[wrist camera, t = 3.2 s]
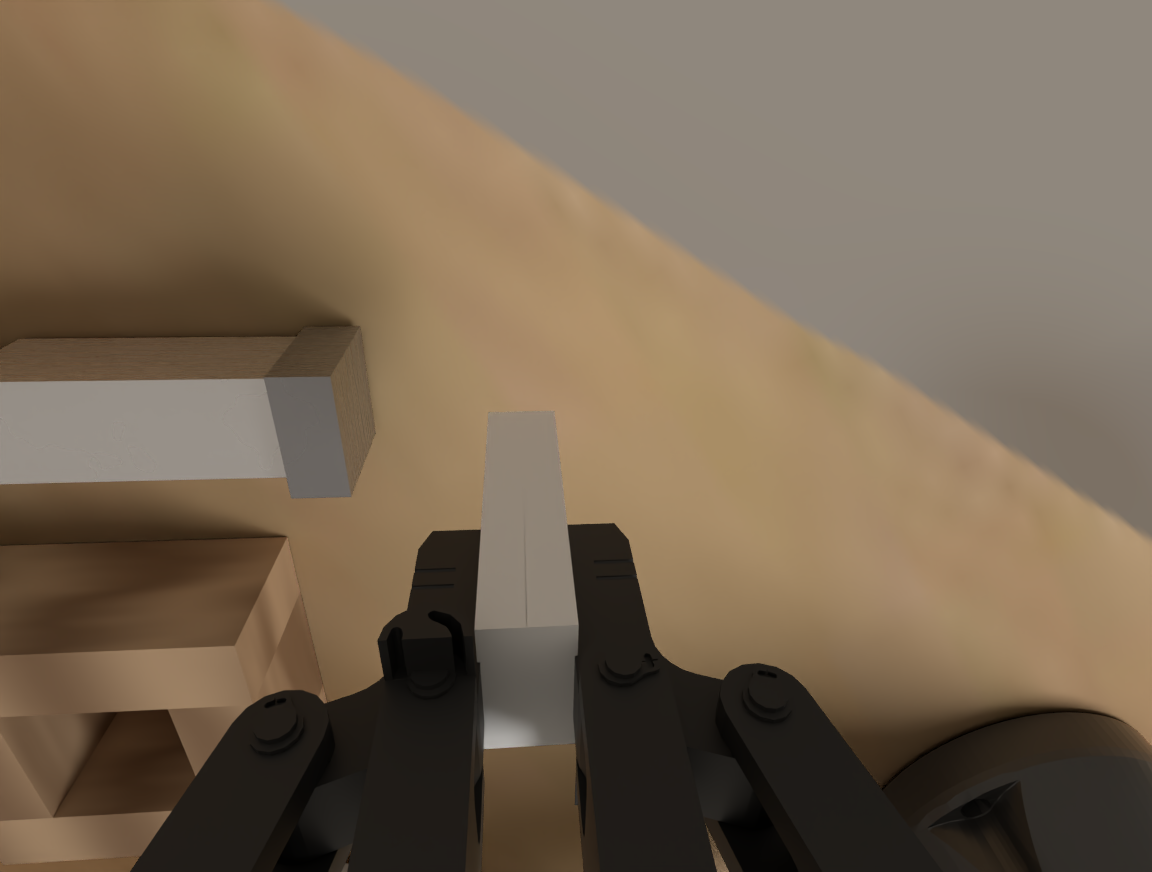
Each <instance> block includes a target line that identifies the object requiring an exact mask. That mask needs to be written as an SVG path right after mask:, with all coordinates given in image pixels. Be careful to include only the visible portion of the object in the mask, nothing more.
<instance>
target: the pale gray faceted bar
mask: <svg viewBox="0 0 1152 872" xmlns="http://www.w3.org/2000/svg"><path fill="white" fill-rule="evenodd" d="M375 434H376V432H375V425H374V418H373V411H372V405H371V398H370V391H369V384H368V377H367V370H366V363H365V356H364V350H363V343H362V336H361V329H360V326H334V327H304V328H303V329H302V330H301V331H300V333H299V334H298V335H297V336H294V337H175V338H57V339H18V340H16V341H14V342H12V343H11V344H9V345H7V346H5V347H3V348H2V349H0V484H30V483H72V482H114V481H156V480H198V479H240V478H282V477H286V478H287V482H288V486H289V491H290V495H291V498H326V497H351V496H352V494H353V491H354V488H355V486H356V483H357V481H358V478H359V475H360V473H361V470H362V468H363V465H364V462H365V460H366V457H367V454H368V452H369V449H370V447H371V444H372V441H373V439H374V436H375Z"/></svg>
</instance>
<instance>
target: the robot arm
mask: <svg viewBox="0 0 1152 872" xmlns="http://www.w3.org/2000/svg"><path fill="white" fill-rule="evenodd" d="M378 647H379V652H380V658H381V663H382V669H383V674H384V677H382V678H381V679H380V680H379V681H378V682H376V683H375V684H373V685H372V686H370V687H369V688H367V689H365V690H362V691H360V692H357V693H355V694H353V695H350V696H347V697H343V698H340V699H337V700H334V701H331V702H328V703H325V704H324V703H323V701H322V700H321V699H320V698H319V697H318V696H317V695H315V694H312V693H309V692H307V691H304V690H283V691H280V692H277V693H274V694H271V695H267V696H264V697H263V698H261V699H260V700H258V701H256V702H255V703H253V704H252V705H250V706H248V707H247V708H246V709H245V710H244V711H243V712H242V713H241V714H240V715H239V716H238V717H237V718H236V720H235V721H234V722H233V723H232V724H231V726H230V727H229V729H228V730H227V731H226V733H225V734H224V736H223V737H222V739H221V740H220V742H219V743H218V745H217V746H216V747H215V749H214V750H213V752H212V753H211V755H210V756H209V758H208V759H207V761H206V762H205V763H204V765H203V766H202V768H201V769H200V771H199V772H198V774H197V775H196V777H195V778H194V779H193V781H192V782H191V784H190V785H189V787H188V788H187V790H186V791H185V793H184V794H183V795H182V797H181V798H180V800H179V801H178V803H177V804H176V806H175V807H174V808H173V810H172V811H171V813H170V814H169V816H168V817H167V819H166V820H165V822H164V823H163V824H162V826H161V827H160V829H159V830H158V832H157V833H156V835H155V836H154V838H153V839H152V840H151V842H150V843H149V845H148V846H147V848H146V849H145V851H144V852H143V854H142V855H141V856H140V858H139V859H138V861H137V862H136V864H135V865H134V867H133V868H132V870H131V871H130V872H342V870H343V867H344V865H345V863H346V860H347V858H348V856H349V853H350V851H351V854H350V859H349V865H348V870H347V872H481V870H482V841H483V812H484V771H483V750H484V749H495V748H511V747H527V746H544V745H560V744H575V745H576V785H575V805H578V809H579V821H580V833H581V845H582V857H583V869H584V872H717V870H716V866H715V862H714V858H713V854H712V850H711V846H710V842H709V838H708V833H707V829H706V825H707V827H708V829H709V831H710V833H711V835H712V837H713V839H714V841H715V844H716V846H717V848H718V850H719V852H720V854H721V856H722V858H723V860H724V862H725V864H726V866H727V868H728V870H729V872H1152V746H1151V745H1150V744H1149V743H1148V742H1147V741H1146V739H1145V738H1144V737H1143V736H1142V735H1141V734H1140V733H1139V732H1138V731H1136V730H1135V729H1134V728H1132V727H1131V726H1129V725H1127V724H1125V723H1123V722H1121V721H1118V720H1116V719H1113V718H1110V717H1106V716H1101V715H1096V714H1089V713H1073V712H1065V713H1048V714H1039V715H1032V716H1027V717H1021V718H1017V719H1012V720H1008V721H1004V722H1001V723H997V724H994V725H991V726H987V727H984V728H982V729H979V730H976V731H973V732H971V733H968V734H966V735H963V736H961V737H959V738H957V739H955V740H952V741H950V742H948V743H946V744H944V745H942V746H940V747H939V748H937V749H935V750H933V751H932V752H930V753H928V754H927V755H925V756H923V757H922V758H920V759H919V760H917V761H916V762H914V763H913V764H912V765H910V766H909V767H908V768H906V769H905V770H904V771H902V772H901V773H900V774H899V775H898V776H897V777H895V778H894V779H893V780H892V781H891V782H890V783H889V784H888V785H887V786H886V787H885V788H884V790H883V791H882V790H881V788H880V787H879V786H878V784H877V783H876V782H875V780H874V779H873V778H872V776H871V775H870V774H869V772H868V771H867V770H866V768H865V767H864V766H863V764H862V763H861V762H860V760H859V759H858V758H857V756H856V755H855V754H854V752H853V751H852V750H851V748H850V747H849V746H848V744H847V743H846V742H845V740H844V739H843V738H842V736H841V735H840V734H839V732H838V731H837V730H836V728H835V727H834V726H833V724H832V723H831V722H830V720H829V719H828V718H827V716H826V715H825V714H824V712H823V711H822V710H821V708H820V707H819V706H818V704H817V703H816V702H815V700H814V699H813V698H812V696H811V695H810V694H809V692H808V691H807V690H806V688H805V687H804V686H803V685H802V684H801V683H800V682H799V681H798V680H796V679H795V678H794V677H793V676H792V675H790V674H788V673H786V672H785V671H783V670H781V669H779V668H777V667H773V666H769V665H764V664H760V663H757V664H745V665H741V666H739V667H737V668H735V669H733V670H731V671H729V673H728V674H727V675H726V677H725V678H724V680H720V679H716V678H712V677H707V676H703V675H698V674H695V673H692V672H689V671H685V670H683V669H681V668H679V667H677V666H675V665H674V664H672V663H670V662H669V661H668V660H667V659H666V658H665V657H663V656H662V655H661V653H660V652H659V651H658V649H657V648H656V647H655V645H654V642H653V640H652V637H651V634H650V630H649V625H648V621H647V617H646V613H645V608H644V604H643V600H642V596H641V591H640V587H639V583H638V579H637V574H636V570H635V566H634V563H633V557H632V553H631V549H630V544H629V540H628V539H627V538H626V536H625V535H624V534H623V533H622V532H621V531H620V530H619V528H618V527H617V526H616V525H615V524H614V523H609V524H580V525H567V519H566V510H565V501H564V492H563V483H562V475H561V466H560V457H559V448H558V440H557V431H556V422H555V413H554V411H530V412H489V413H488V428H487V444H486V459H485V475H484V490H483V505H482V521H481V530H455V531H433V532H432V533H431V534H430V535H429V537H428V538H427V539H426V540H425V542H424V543H423V544H422V545H421V547H420V548H419V549H418V555H417V560H416V566H415V573H414V576H413V582H412V590H411V593H410V598H409V603H408V609H407V611H405V612H403V613H401V614H398V615H396V616H395V617H394V618H393V619H392V620H391V621H390V622H389V623H388V624H387V625H386V626H385V627H384V628H383V630H382V632H381V634H380V636H379V638H378ZM705 823H706V825H705Z"/></svg>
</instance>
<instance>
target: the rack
mask: <svg viewBox="0 0 1152 872" xmlns="http://www.w3.org/2000/svg"><path fill="white" fill-rule="evenodd" d="M283 690H304V691H307V692H309V693H312V694H315V695H317V696H318V697H319V698H320V699H321V700H322V701H323V703H324V704H325V703H327V700H326V696H325V692H324V688H323V683H322V679H321V675H320V671H319V667H318V663H317V659H316V654H315V650H314V646H313V642H312V638H311V634H310V629H309V625H308V621H307V617H306V613H305V609H304V605H303V600H302V596H301V592H300V588H299V584H298V580H297V575H296V571H295V567H294V563H293V559H292V555H291V551H290V546H289V542H288V538H287V537H273V538H240V539H207V540H174V541H141V542H108V543H75V544H42V545H9V546H0V862H1V863H2V864H3V865H12V864H27V863H43V862H58V861H74V860H90V859H105V858H121V857H137V856H141V855H142V854H143V852H144V851H145V849H146V848H147V846H148V845H149V843H150V842H151V840H152V839H153V838H154V836H155V835H156V833H157V832H158V830H159V829H160V827H161V826H162V824H163V823H164V822H165V820H166V819H167V817H168V816H169V814H170V813H171V811H172V810H173V808H174V807H175V806H176V804H177V803H178V801H179V800H180V798H181V797H182V795H183V794H184V793H185V791H186V790H187V788H188V787H189V785H190V784H191V782H192V781H193V779H194V778H195V777H196V775H197V774H198V772H199V771H200V769H201V768H202V766H203V765H204V763H205V762H206V761H207V759H208V758H209V756H210V755H211V753H212V752H213V750H214V749H215V747H216V746H217V745H218V743H219V742H220V740H221V739H222V737H223V736H224V734H225V733H226V731H227V730H228V729H229V727H230V726H231V724H232V723H233V722H234V721H235V720H236V718H237V717H238V716H239V715H240V714H241V713H242V712H243V711H244V710H245V709H246V708H247V707H248V706H250V705H252V704H253V703H255V702H256V701H258V700H260V699H261V698H263V697H264V696H267V695H271V694H274V693H277V692H280V691H283Z"/></svg>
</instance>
